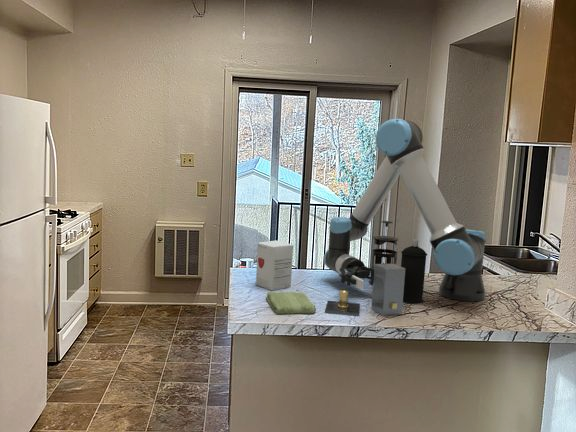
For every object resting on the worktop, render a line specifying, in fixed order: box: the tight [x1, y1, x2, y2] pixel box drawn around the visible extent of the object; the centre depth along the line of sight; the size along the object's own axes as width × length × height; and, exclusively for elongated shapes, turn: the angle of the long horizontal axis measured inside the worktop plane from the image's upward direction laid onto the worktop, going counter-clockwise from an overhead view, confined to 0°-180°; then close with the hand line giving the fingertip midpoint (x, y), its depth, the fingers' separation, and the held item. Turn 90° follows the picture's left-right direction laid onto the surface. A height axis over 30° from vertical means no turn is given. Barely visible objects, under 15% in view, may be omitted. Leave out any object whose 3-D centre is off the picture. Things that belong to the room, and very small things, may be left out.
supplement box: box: [255, 240, 294, 292], centre depth 185 cm, size 9×9×15 cm
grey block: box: [370, 262, 405, 317], centre depth 162 cm, size 9×7×14 cm
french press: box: [368, 220, 399, 286], centre depth 195 cm, size 12×9×23 cm
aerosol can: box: [400, 239, 428, 305], centre depth 175 cm, size 8×8×20 cm
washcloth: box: [265, 290, 317, 315], centre depth 164 cm, size 13×18×3 cm
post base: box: [324, 289, 361, 317], centre depth 163 cm, size 10×10×6 cm
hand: (382, 284), depth 164 cm, fingers open, 13 cm apart
